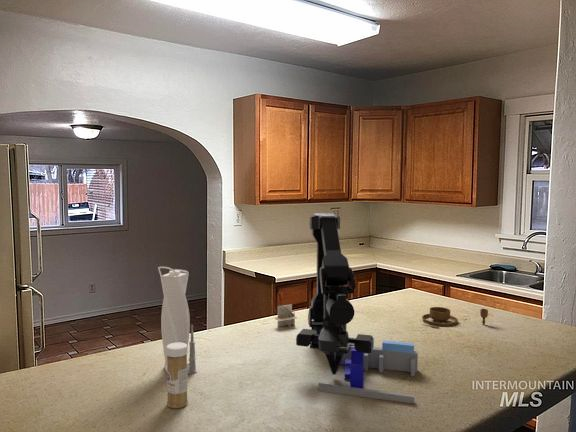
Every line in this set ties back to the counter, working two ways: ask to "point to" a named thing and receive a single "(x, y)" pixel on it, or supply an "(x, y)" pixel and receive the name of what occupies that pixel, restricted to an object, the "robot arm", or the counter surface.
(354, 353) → the cable clip
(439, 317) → the place setting
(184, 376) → the sprinkles bottle
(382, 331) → the counter surface
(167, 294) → the skyscraper
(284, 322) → the architectural model
